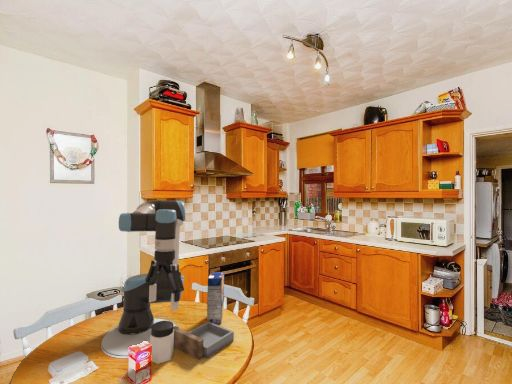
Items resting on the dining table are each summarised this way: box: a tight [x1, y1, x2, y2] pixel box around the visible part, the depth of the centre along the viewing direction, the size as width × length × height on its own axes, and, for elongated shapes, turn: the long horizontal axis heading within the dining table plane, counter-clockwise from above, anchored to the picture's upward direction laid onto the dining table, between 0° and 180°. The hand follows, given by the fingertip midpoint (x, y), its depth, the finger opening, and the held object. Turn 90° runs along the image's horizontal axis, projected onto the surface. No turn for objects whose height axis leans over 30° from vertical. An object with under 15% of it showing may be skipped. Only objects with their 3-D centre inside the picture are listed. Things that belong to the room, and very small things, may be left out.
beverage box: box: [206, 271, 225, 325], centre depth 135 cm, size 7×11×22 cm, turn 1°
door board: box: [174, 325, 204, 361], centre depth 106 cm, size 17×3×7 cm, turn 55°
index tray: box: [187, 321, 235, 359], centre depth 112 cm, size 15×16×4 cm
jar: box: [149, 320, 175, 365], centre depth 102 cm, size 9×8×12 cm
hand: (163, 305), depth 102 cm, fingers open, 13 cm apart
